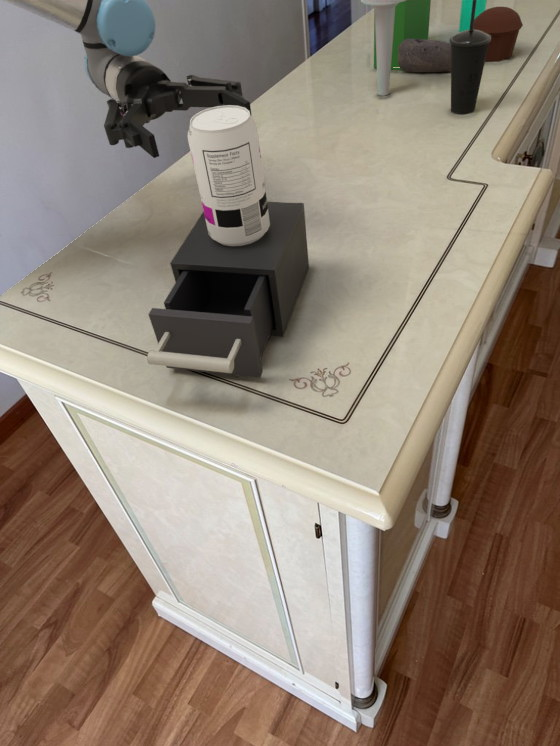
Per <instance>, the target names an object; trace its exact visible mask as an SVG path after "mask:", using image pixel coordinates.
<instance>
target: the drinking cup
mask: <svg viewBox="0 0 560 746" xmlns="http://www.w3.org/2000/svg"><path fill="white" fill-rule="evenodd" d="M476 1H477V0H473V3H472V12H471V21H470V30H465V31H462V32H460V33H459V32H457V33H456V34H453V35H451V36H450V38H449V43H451V70H450V111H451V113H453V114H455V115H468V114H472V113H473V112H475V109H476V105H477V101H478V96H479V91H480V86H481V82H482V77H483V73H484V69H485V63H486V62H485V59H486V54H487V49H488V45H489V42H490V41H491V36H490V35H489V34H487V33H484V32H482V31H480V30H473V27H474V19H475V10H476Z"/></svg>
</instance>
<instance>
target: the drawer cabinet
mask: <svg viewBox="0 0 560 746" xmlns="http://www.w3.org/2000/svg"><path fill="white" fill-rule="evenodd" d="M267 205H268V213H269V221H270V226H269V228H268V230H267V232H265V234H264V235H263V236H262V237H261V238H260V239H259V240H257V241H255V242H253V243H251V244H247V245H243V246H227V245H223V244H221V243H219V242H217V241H216V240H213V239H212V238H211V236H210V235H209V234H208V229H207V224H206V220H205V215H204V211H202V213H201V214H200V216H199V218H198V219H197V220H196V222H195V224H194V225H193V227H192V229H191V230H190V232H188V234H187V236H186V237H185V239H184V241H183V242H182V244H181V245H180V246H179V249H178V250H177V252H176V253H175V255H174V256H173V258H172V259H171V261H170V263H169V264H170V267H171V271H172V274H173V278H174V281H175V283H176V281H177V280H178V278H179V277H180V275H181V273H182V272H183V270H197V271H212V272H227V273H241V274H256V275H269V281H270V288H271V295H272V302H273V309H274V316H275V323H274V325H273V328H272V330H271V333H270V335H269V336H276V337H277V336H278V337H284V336H285V334H286V331H287V328H288V326H289V322H290V321H291V320H290V319H291V317H292V314H293V313H294V309H295V306H296V304H297V301H298V297H299V296H300V292H301V290H302V287H303V285H304V282H305V280H306V277H307V274H308V271H309V269H310V263H309V251H308V250H309V249H308V238H307V225H306V214H305V203H304V202H284V201H267Z"/></svg>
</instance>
